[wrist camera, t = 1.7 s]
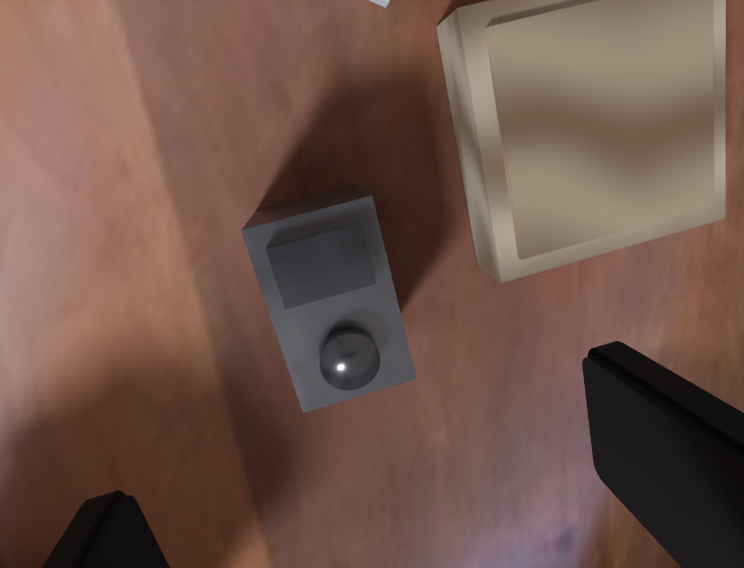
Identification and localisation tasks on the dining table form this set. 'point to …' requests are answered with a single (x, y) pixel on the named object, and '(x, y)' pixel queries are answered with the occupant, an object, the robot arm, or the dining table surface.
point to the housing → (330, 295)
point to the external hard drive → (381, 2)
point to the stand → (585, 124)
